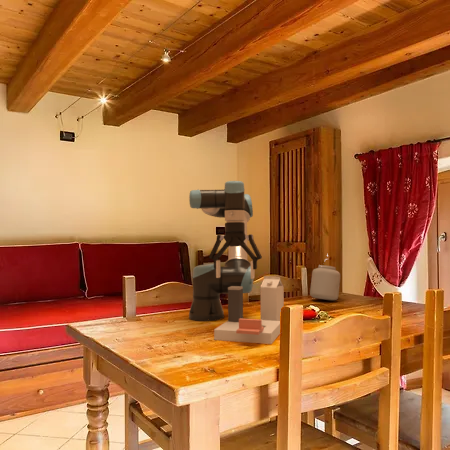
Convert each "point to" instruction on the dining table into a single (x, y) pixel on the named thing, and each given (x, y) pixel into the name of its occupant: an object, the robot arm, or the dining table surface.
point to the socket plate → (266, 336)
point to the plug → (235, 303)
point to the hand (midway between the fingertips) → (235, 278)
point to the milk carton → (271, 298)
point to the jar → (325, 283)
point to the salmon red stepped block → (250, 326)
